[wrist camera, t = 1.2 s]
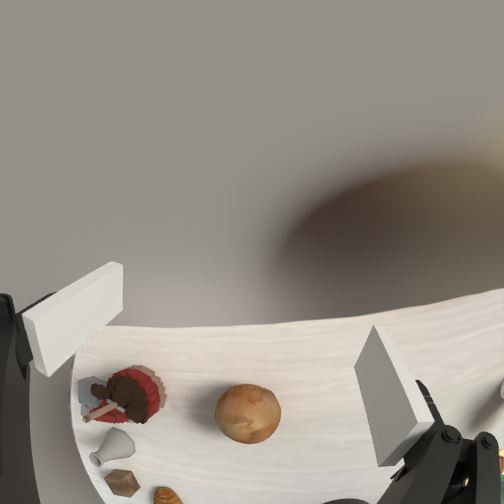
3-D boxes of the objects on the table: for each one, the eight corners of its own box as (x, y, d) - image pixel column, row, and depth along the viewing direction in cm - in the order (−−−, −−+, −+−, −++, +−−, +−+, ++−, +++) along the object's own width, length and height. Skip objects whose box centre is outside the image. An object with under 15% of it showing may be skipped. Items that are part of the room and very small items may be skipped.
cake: (176, 380, 44) (119, 415, 26) (164, 420, 42) (112, 463, 25) (127, 355, 46) (60, 372, 28) (118, 395, 44) (57, 422, 27)
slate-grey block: (111, 405, 44) (97, 412, 40) (93, 396, 45) (78, 402, 40) (111, 384, 45) (96, 390, 40) (93, 376, 46) (78, 380, 41)
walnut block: (140, 487, 40) (130, 497, 35) (124, 485, 41) (113, 494, 36) (131, 470, 41) (120, 480, 36) (115, 469, 42) (103, 478, 37)
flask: (105, 442, 43) (79, 459, 33) (111, 421, 44) (83, 437, 34) (132, 461, 42) (107, 481, 32) (139, 441, 42) (113, 461, 33)
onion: (213, 408, 42) (193, 431, 32) (244, 365, 42) (230, 382, 33) (260, 437, 40) (251, 466, 30) (293, 395, 40) (293, 420, 31)
